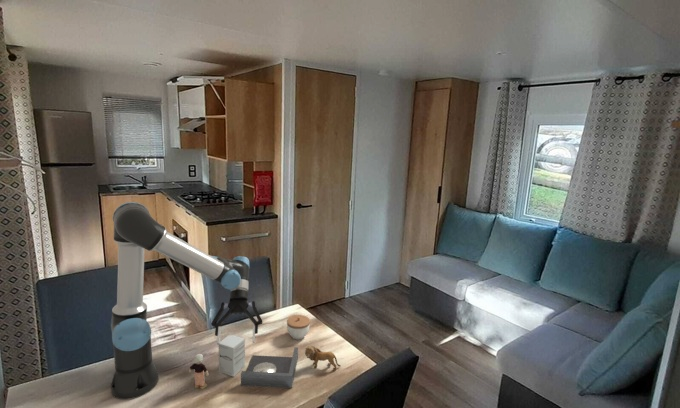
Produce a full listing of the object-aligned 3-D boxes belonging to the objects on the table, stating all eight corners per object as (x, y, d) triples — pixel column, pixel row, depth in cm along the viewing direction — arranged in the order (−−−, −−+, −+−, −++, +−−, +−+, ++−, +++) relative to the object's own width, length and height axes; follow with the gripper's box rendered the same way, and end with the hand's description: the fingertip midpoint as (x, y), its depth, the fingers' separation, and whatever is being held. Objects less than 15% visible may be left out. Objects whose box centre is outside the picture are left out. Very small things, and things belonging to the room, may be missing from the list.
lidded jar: (308, 342, 162) (309, 323, 161) (284, 341, 162) (285, 322, 161) (310, 330, 173) (311, 312, 171) (288, 329, 173) (288, 311, 171)
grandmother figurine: (211, 382, 134) (210, 352, 132) (208, 389, 130) (207, 358, 128) (191, 381, 134) (189, 351, 132) (186, 388, 130) (185, 357, 128)
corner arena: (240, 385, 133) (240, 373, 132) (252, 356, 151) (252, 345, 150) (291, 388, 133) (292, 376, 132) (297, 358, 151) (298, 347, 150)
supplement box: (218, 372, 140) (217, 342, 138) (230, 361, 147) (230, 333, 144) (233, 377, 137) (233, 347, 135) (245, 366, 144) (245, 338, 142)
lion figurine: (304, 370, 143) (304, 350, 142) (304, 362, 149) (305, 342, 147) (340, 371, 144) (342, 351, 142) (340, 362, 149) (341, 343, 148)
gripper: (268, 293, 161) (267, 343, 149) (210, 295, 156) (204, 347, 145) (268, 287, 154) (267, 339, 143) (207, 289, 150) (201, 342, 138)
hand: (236, 343), depth 144 cm, fingers open, 13 cm apart
